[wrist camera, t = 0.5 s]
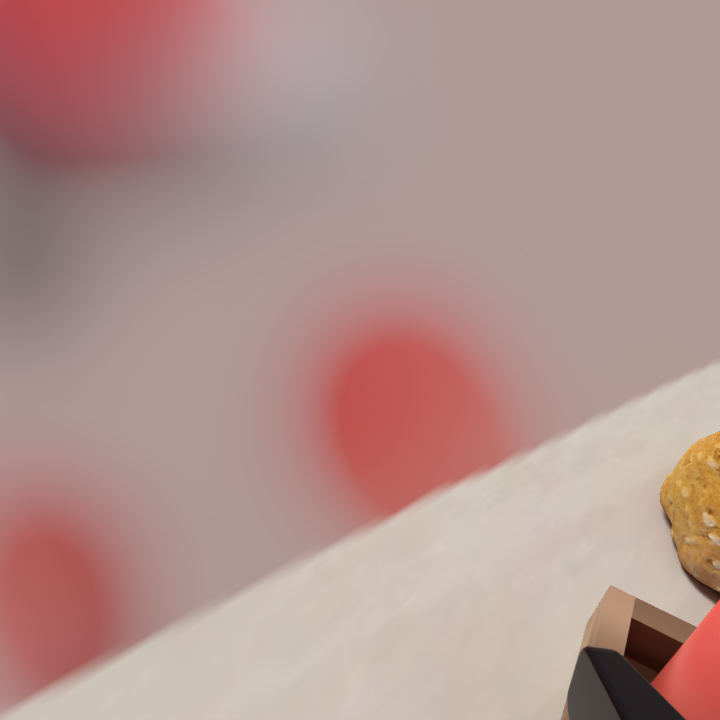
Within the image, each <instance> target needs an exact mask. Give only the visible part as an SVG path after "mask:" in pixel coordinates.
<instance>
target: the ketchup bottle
mask: <svg viewBox="0 0 720 720" xmlns="http://www.w3.org/2000/svg"><path fill="white" fill-rule="evenodd" d="M651 685H652V686H653V687H654V688H655V689H656V690H657V691H658V692H659V693H660V694H661V695H662V696H663V697H664V698H665V699H666V700H667V701H668V702H669V703H670V704H671V705H672V706H673V707H674V708H675V709H676V710H677V711H678V712H679V713H680V714H681V715H682V716H683V717H684V718H685V719H686V720H720V600H719V601H718V602H717V604H716V605H715V606H714V607H713V609H712V610H711V611H710V612H709V613H708V615H707V616H706V617H705V618H704V619H703V621H702V622H701V623H700V624H699V626H698V627H697V628H696V629H695V630H694V632H693V633H692V634H691V635H690V636H689V638H688V639H687V640H686V641H685V642H684V644H683V645H682V646H681V647H680V649H679V650H678V651H677V652H676V653H675V655H674V656H673V657H672V658H671V659H670V661H669V662H668V663H667V664H666V666H665V667H664V668H663V669H662V670H661V672H660V673H659V674H658V675H657V676H656V678H655V679H654V680H653V681H652V683H651Z"/></svg>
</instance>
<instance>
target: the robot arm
mask: <svg viewBox="0 0 720 720" xmlns="http://www.w3.org/2000/svg"><path fill="white" fill-rule="evenodd" d="M567 709H568V717H569V720H686V719H685V718H684V717H683V716H682V715H681V714H680V713H679V712H678V711H677V710H676V709H675V708H674V707H673V706H672V705H671V704H670V703H669V702H668V701H667V700H666V699H665V698H664V697H663V696H662V695H661V694H660V693H659V692H658V691H657V690H656V689H655V688H654V687H653V686H652V685H651V684H650V683H649V682H648V681H647V680H646V679H645V678H644V677H643V676H642V675H641V674H640V673H639V672H638V671H637V670H636V669H635V668H634V667H633V666H632V665H631V664H630V663H629V662H628V661H627V660H626V659H625V658H624V657H623V656H622V655H621V654H620V653H619V652H617V651H616V650H613V649H609V648H602V647H594V646H585V647H583V648H582V650H581V651H580V653H579V656H578V660H577V663H576V666H575V670H574V673H573V677H572V680H571V683H570V687H569V690H568V696H567Z"/></svg>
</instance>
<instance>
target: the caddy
mask: <svg viewBox="0 0 720 720" xmlns="http://www.w3.org/2000/svg"><path fill="white" fill-rule="evenodd" d="M696 628H697V627H695V626H693V625H691V624H689V623H687V622H685V621H683V620H681V619H679V618H677V617H675V616H673V615H671V614H669V613H667V612H665V611H662V610H660V609H658V608H656V607H654V606H652V605H650V604H648V603H646V602H644V601H642V600H640V599H638V598H636V597H634V596H632V595H630V594H628V593H626V592H623V591H621V590H619V589H617V588H615V587H613V586H611V585H610V586H609V588H608V590H607V591H606V593H605V595H604V596H603V598H602V600H601V601H600V603H599V605H598V606H597V608H596V610H595V611H594V613H593V615H592V616H591V618H590V620H589V621H588V623H587V626H586V630H585V634H584V637H583V641H582V645H581V649H580V651H581V650H582V648H583V647H585V646H594V647H602V648H609V649H613V650H616V651H617V652H619V653H620V654H621V655H622V656H623V657H624V658H625V659H626V660H627V661H628V662H629V663H630V664H631V665H632V666H633V667H634V668H635V669H636V670H637V671H638V672H639V673H640V674H641V675H642V676H643V677H644V678H645V679H646V680H647V681H648V682H649V683H650V684H651V683H652V681H653V680H654V679H655V678H656V676H657V675H658V674H659V673H660V672H661V670H662V669H663V668H664V667H665V666H666V664H667V663H668V662H669V661H670V659H671V658H672V657H673V656H674V655H675V653H676V652H677V651H678V650H679V649H680V647H681V646H682V645H683V644H684V642H685V641H686V640H687V639H688V638H689V636H690V635H691V634H692V633H693V632H694V630H695V629H696ZM579 653H580V652H579ZM561 720H569V717H568V709H567V700H566V704H565V708H564V711H563V715H562V719H561Z"/></svg>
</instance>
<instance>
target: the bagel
mask: <svg viewBox="0 0 720 720" xmlns="http://www.w3.org/2000/svg"><path fill="white" fill-rule="evenodd" d="M660 503H661V505H662V508H663V509H664V511H665V513H666V514H667V516H668V517H669V519H670V521H671V524H672V526H671V528H672V530H671V536H672V538H673V540H674V542H675V544H676V546H677V550H678V556H679V560H680V563H681V564H682V566H683V567H684V568H685V569H686V570H687V571H688V572H689V573H690V574H691V575H692V576H693V577H694V578H696V579H697V580H698V581H700V582H702V583H703V584H705V585H706V586H708V587H710V588H712V589H714V590H716V591H718V592H720V431H719V432H717V433H715V434H713V435H710V436H708V437H705V438H703V439H700V440H699V441H698V442H697V443H695V444H693V445H692V446H691V447H690V448H689V449H688V450H687V452H686V453H685V454H684V455H683V456H682V458H681V459H680V460H679V462H678V464H677V466H676V468H675V469H674V471H673V472H672V473H671V474H669V475H668V476H667V478H666V480H665V482H664V483H663V485H662V488H661V493H660Z"/></svg>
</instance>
